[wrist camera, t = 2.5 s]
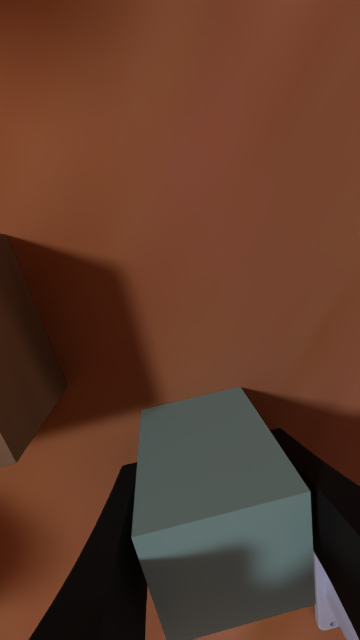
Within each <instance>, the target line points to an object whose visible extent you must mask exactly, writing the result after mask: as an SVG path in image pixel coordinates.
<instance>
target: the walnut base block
mask: <svg viewBox="0 0 360 640" xmlns="http://www.w3.org/2000/svg"><path fill="white" fill-rule="evenodd" d="M66 388H67V383H66V381H65V378H64V376H63V373H62V371H61V368H60V366H59V363H58V361H57V359H56V356H55V354H54V351H53V349H52V346H51V344H50V341H49V339H48V336H47V334H46V331H45V329H44V327H43V324H42V322H41V319H40V317H39V314H38V312H37V309H36V307H35V304H34V302H33V300H32V297H31V295H30V292H29V290H28V287H27V285H26V282H25V280H24V277H23V275H22V273H21V270H20V268H19V265H18V263H17V260H16V258H15V255H14V253H13V250H12V248H11V246H10V243H9V241H8V238H7V236H6V235H5V234H0V467H4V466H8V465H11V464H15V463H17V461H18V460H19V458H20V457H21V455H22V454H23V452H24V451H25V449H26V448H27V446H28V445H29V443H30V442H31V440H32V439H33V437H34V436H35V434H36V433H37V431H38V430H39V428H40V427H41V425H42V424H43V422H44V421H45V419H46V418H47V416H48V415H49V413H50V412H51V410H52V409H53V407H54V406H55V404H56V403H57V401H58V400H59V398H60V397H61V395H62V394H63V392H64V391H65V389H66Z"/></svg>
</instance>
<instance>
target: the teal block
mask: <svg viewBox="0 0 360 640" xmlns="http://www.w3.org/2000/svg"><path fill="white" fill-rule="evenodd" d="M131 538H132V541H133V544H134V547H135V550H136V553H137V556H138V558H139V561H140V564H141V567H142V570H143V573H144V576H145V579H146V582H147V585H148V587H149V590H150V593H151V596H152V599H153V602H154V605H155V608H156V611H157V614H158V617H159V619H160V622H161V625H162V628H163V631H164V634H165V637H166V640H192V639H195V638H199V637H202V636H206V635H209V634H213V633H216V632H220V631H223V630H227V629H230V628H234V627H237V626H241V625H244V624H248V623H251V622H255V621H258V620H262V619H265V618H269V617H272V616H276V615H279V614H283V613H286V612H290V611H293V610H297V609H300V608H304V607H307V606H311V605H314V604H316V597H315V576H314V556H313V535H312V515H311V494H310V490H309V489H308V487H307V486H306V484H305V483H304V481H303V480H302V478H301V477H300V475H299V474H298V472H297V471H296V469H295V468H294V466H293V465H292V463H291V462H290V460H289V459H288V457H287V456H286V454H285V453H284V451H283V450H282V448H281V447H280V445H279V444H278V442H277V441H276V439H275V438H274V436H273V435H272V433H271V432H270V430H269V429H268V427H267V426H266V424H265V423H264V421H263V420H262V418H261V417H260V415H259V414H258V412H257V411H256V409H255V408H254V406H253V405H252V403H251V402H250V400H249V399H248V397H247V396H246V394H245V393H244V391H243V390H242V388H241V387H239V388H234V389H230V390H225V391H221V392H217V393H212V394H208V395H204V396H199V397H195V398H191V399H186V400H182V401H178V402H173V403H169V404H164V405H160V406H156V407H151V408H147V409H143V410H141V421H140V434H139V447H138V460H137V472H136V485H135V498H134V511H133V523H132V536H131Z"/></svg>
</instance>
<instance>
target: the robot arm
mask: <svg viewBox="0 0 360 640" xmlns="http://www.w3.org/2000/svg"><path fill="white" fill-rule="evenodd" d="M270 432H271V433H272V435H273V436H274V438H275V439H276V441H277V442H278V444H279V445H280V447H281V448H282V450H283V451H284V453H285V454H286V456H287V457H288V459H289V460H290V462H291V463H292V465H293V466H294V468H295V469H296V471H297V472H298V474H299V475H300V477H301V478H302V480H303V481H304V483H305V484H306V486H307V487H308V489H309V490H310V494H311V515H312V535H313V556H314V576H315V597H316V604H315V620H316V622H317V625H318V627H319V629H321V630H329V629H332V628H336V627H339V626H340V628H341V630H342V632H343V634H344V636H345V638H346V640H360V486H358V485H357V484H355V483H354V482H352V481H351V480H349V479H348V478H346V477H345V476H343V475H342V474H340V473H339V472H338V471H336V470H335V469H333V468H332V467H331V466H329V465H328V464H326V463H325V462H324V461H322V460H321V459H320V458H318V457H317V456H315V455H314V454H313V453H312V452H310V451H309V450H308V449H306V448H305V447H304V446H302V445H301V444H300V443H299V442H297V441H296V440H295V439H294V438H292V437H291V436H290V435H288V434H287V433H286V432H285V431H283V430H282V429H281V428H277V429H273V430H270ZM136 472H137V462H136V463H132V464H127V465H123V466H122V468H121V470H120V472H119V475H118V477H117V479H116V482H115V484H114V486H113V489H112V491H111V493H110V495H109V498H108V500H107V502H106V504H105V506H104V508H103V510H102V513H101V515H100V517H99V519H98V521H97V523H96V525H95V527H94V529H93V531H92V533H91V535H90V537H89V539H88V541H87V542H86V544H85V546H84V548H83V550H82V552H81V554H80V556H79V558H78V559H77V561H76V563H75V565H74V567H73V568H72V570H71V572H70V574H69V575H68V577H67V579H66V581H65V582H64V584H63V586H62V587H61V589H60V591H59V592H58V594H57V596H56V597H55V599H54V601H53V602H52V604H51V606H50V607H49V609H48V610H47V612H46V613H45V615H44V617H43V618H42V620H41V621H40V623H39V624H38V626H37V628H36V629H35V631H34V632H33V634H32V635H31V637H30V638H29V640H145V623H146V601H147V582H146V579H145V576H144V573H143V570H142V567H141V564H140V561H139V558H138V556H137V553H136V550H135V547H134V544H133V541H132V538H131V536H132V523H133V511H134V498H135V485H136Z"/></svg>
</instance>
